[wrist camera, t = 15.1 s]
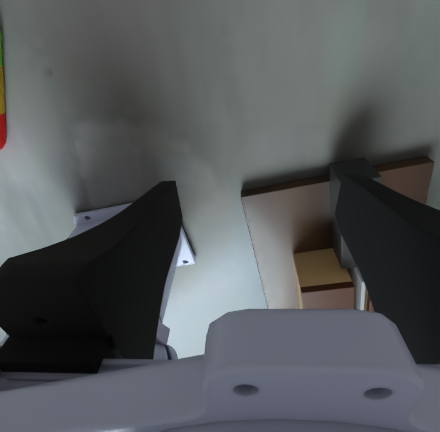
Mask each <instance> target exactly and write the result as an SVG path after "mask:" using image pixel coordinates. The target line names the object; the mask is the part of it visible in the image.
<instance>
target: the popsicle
mask: <svg viewBox="0 0 440 432" xmlns="http://www.w3.org/2000/svg"><path fill="white" fill-rule="evenodd" d="M5 143H6V122H5V101H4V81H3V61H2V41H1V29H0V150H1V149H2V148H3V147H4V145H5Z"/></svg>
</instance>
